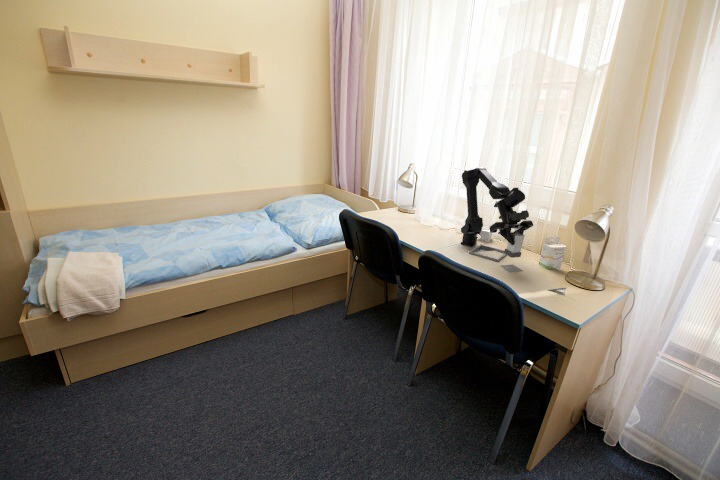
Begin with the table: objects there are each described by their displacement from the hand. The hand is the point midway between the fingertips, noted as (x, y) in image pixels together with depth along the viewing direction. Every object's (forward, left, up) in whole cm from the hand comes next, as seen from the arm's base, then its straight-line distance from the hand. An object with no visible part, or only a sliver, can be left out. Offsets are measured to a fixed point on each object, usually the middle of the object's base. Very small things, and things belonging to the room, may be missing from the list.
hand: (517, 244), depth 144 cm
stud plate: (0, 0, -13) cm, 13 cm away
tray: (-14, +10, -13) cm, 22 cm away
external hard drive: (+18, -1, -14) cm, 22 cm away
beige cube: (-25, +33, -13) cm, 44 cm away
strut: (-1, +1, -6) cm, 6 cm away
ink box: (+12, +16, -13) cm, 24 cm away
